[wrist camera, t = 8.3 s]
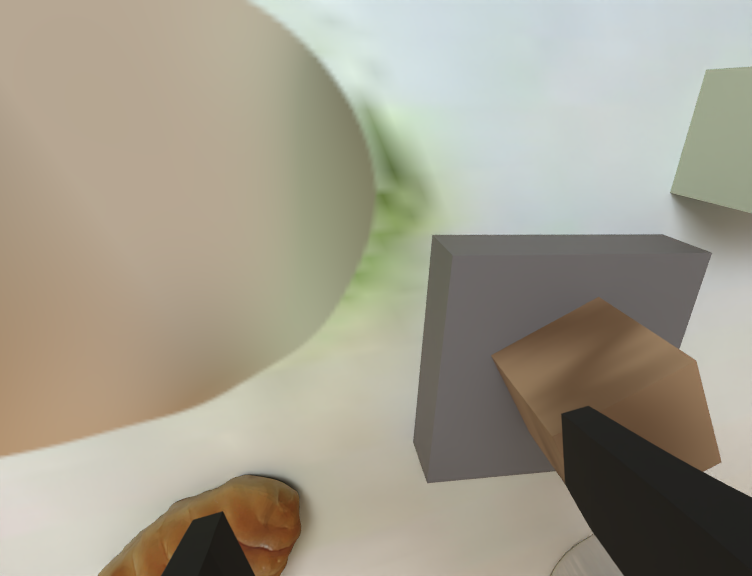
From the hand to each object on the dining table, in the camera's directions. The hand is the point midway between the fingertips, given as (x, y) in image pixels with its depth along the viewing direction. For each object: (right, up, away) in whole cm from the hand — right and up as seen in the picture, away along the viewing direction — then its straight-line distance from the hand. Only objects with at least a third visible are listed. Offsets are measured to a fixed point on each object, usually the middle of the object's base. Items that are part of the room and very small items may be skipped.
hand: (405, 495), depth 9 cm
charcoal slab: (+6, +2, +11) cm, 13 cm away
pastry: (-9, -8, +12) cm, 17 cm away
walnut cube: (+7, +1, +8) cm, 11 cm away
